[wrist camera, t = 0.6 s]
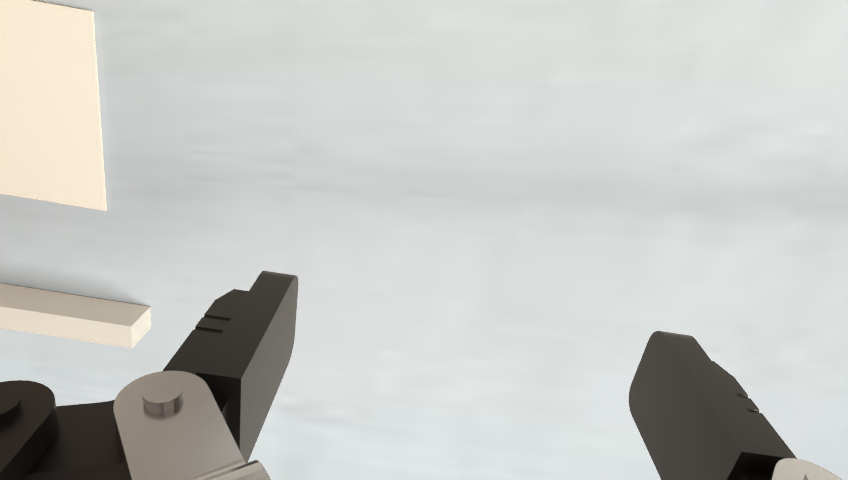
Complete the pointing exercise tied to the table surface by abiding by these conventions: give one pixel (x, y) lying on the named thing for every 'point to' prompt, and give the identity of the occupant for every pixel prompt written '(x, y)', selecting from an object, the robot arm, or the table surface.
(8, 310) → the wall
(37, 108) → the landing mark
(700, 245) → the table surface
